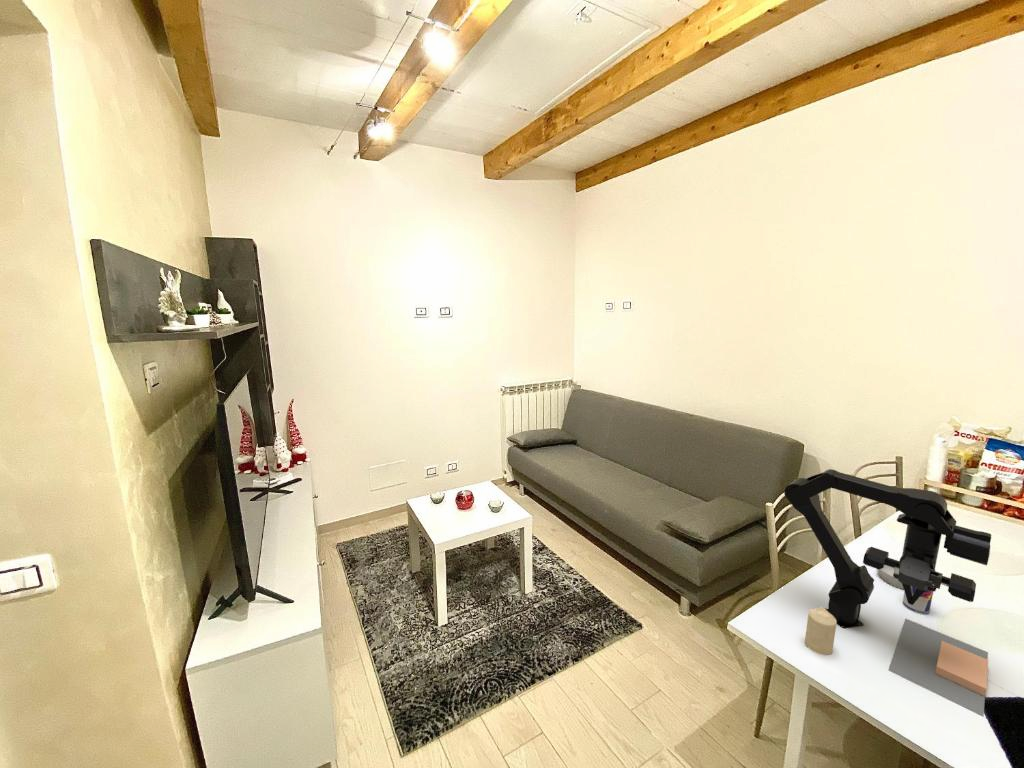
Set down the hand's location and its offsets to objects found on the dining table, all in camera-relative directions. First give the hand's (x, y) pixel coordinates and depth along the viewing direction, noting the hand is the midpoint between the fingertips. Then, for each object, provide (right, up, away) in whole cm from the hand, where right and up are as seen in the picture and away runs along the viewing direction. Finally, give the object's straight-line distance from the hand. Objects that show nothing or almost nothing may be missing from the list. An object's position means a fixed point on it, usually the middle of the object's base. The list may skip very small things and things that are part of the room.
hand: (910, 603), depth 100 cm
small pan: (+24, -7, +28) cm, 38 cm away
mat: (+4, -13, -2) cm, 14 cm away
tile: (+4, -11, -3) cm, 12 cm away
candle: (-20, -12, +3) cm, 24 cm away
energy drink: (+15, -9, +15) cm, 23 cm away
